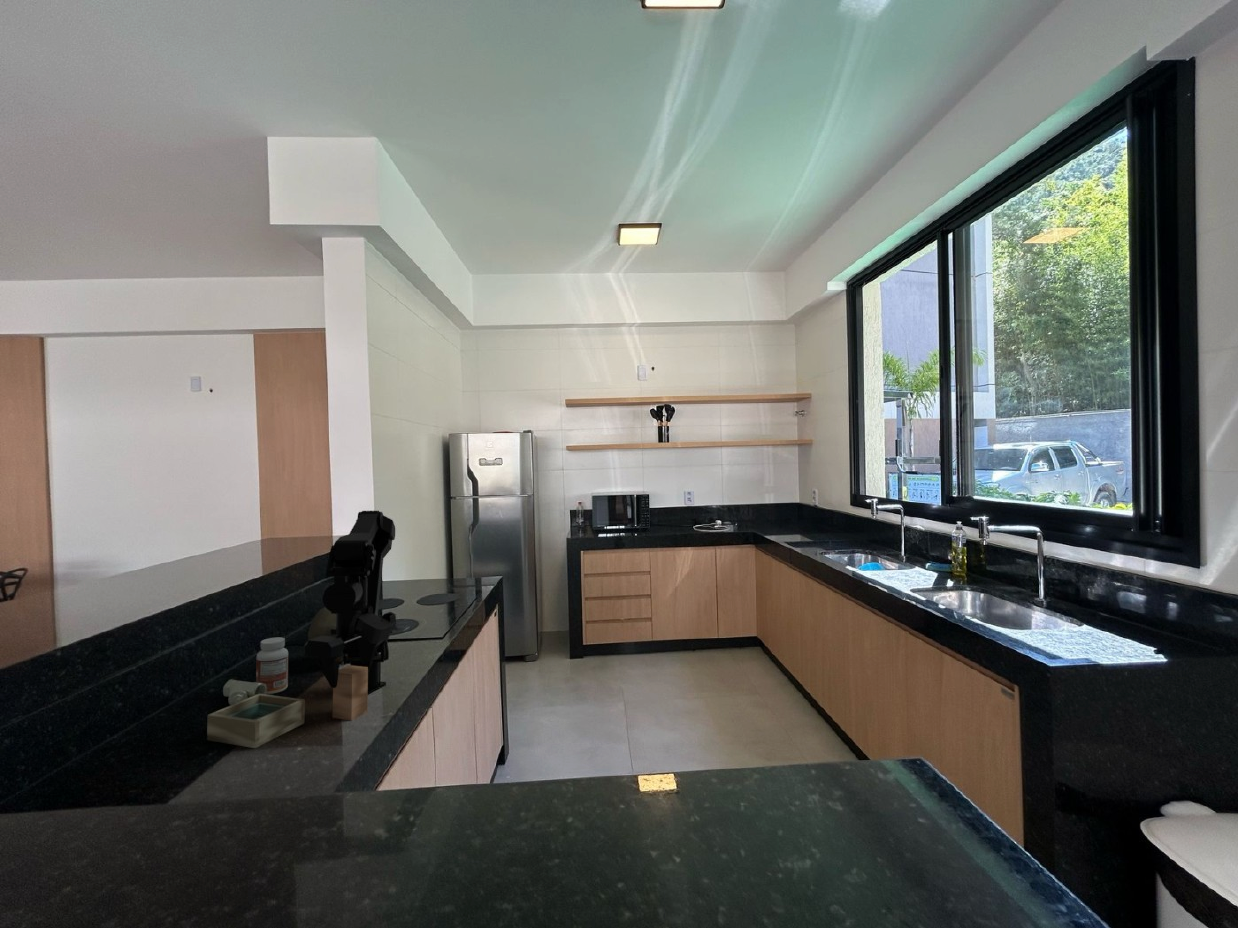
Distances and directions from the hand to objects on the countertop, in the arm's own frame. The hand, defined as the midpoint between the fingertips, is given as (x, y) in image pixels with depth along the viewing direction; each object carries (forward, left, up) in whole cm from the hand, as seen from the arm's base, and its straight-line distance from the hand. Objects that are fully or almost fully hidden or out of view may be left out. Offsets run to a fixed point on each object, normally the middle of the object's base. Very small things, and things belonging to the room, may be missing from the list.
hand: (350, 679), depth 119 cm
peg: (0, 0, -7) cm, 7 cm away
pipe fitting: (+1, -28, -7) cm, 29 cm away
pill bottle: (-6, -26, -7) cm, 28 cm away
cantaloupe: (-26, -26, -7) cm, 37 cm away
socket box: (+12, -11, -7) cm, 17 cm away
